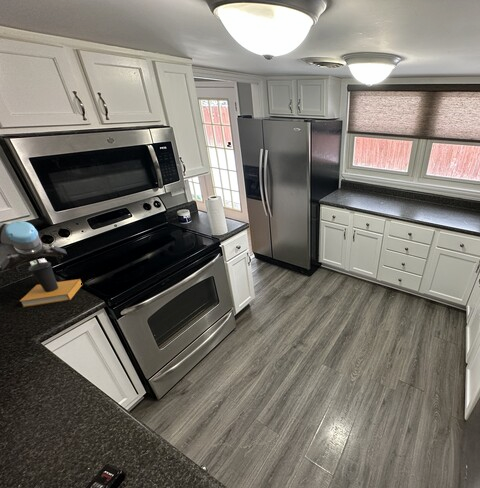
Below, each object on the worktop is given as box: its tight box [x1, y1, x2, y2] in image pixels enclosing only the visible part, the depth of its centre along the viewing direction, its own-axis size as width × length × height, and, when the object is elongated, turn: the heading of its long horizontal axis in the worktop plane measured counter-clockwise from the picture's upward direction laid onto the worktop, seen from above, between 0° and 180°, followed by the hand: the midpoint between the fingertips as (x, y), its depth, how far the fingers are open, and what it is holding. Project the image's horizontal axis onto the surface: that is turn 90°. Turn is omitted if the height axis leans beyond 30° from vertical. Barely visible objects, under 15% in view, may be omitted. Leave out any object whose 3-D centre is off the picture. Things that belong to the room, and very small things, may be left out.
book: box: [19, 278, 83, 308], centre depth 133 cm, size 18×14×4 cm
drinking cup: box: [28, 257, 58, 292], centre depth 128 cm, size 8×8×20 cm
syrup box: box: [29, 257, 58, 282], centre depth 138 cm, size 6×6×14 cm
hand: (39, 265), depth 122 cm, fingers open, 13 cm apart
